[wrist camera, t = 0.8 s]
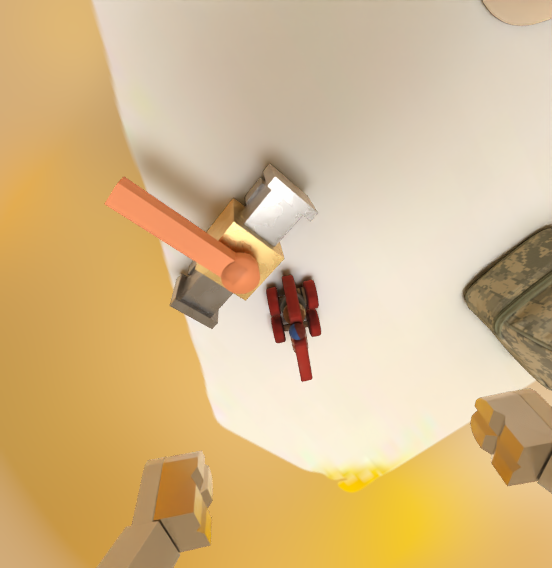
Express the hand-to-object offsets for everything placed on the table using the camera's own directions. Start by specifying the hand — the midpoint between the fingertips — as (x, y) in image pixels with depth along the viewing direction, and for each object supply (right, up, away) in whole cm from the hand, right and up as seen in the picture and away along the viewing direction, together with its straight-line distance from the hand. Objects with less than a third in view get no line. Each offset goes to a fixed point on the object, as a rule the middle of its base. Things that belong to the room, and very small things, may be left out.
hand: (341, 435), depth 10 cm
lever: (-10, +9, +24) cm, 28 cm away
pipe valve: (-7, +11, +34) cm, 37 cm away
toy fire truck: (0, +2, +41) cm, 41 cm away
